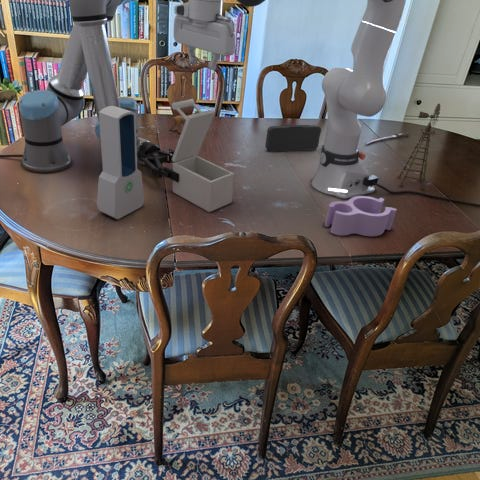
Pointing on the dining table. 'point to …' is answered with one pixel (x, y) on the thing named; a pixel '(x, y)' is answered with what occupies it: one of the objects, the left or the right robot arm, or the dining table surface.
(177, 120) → the lion figurine
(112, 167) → the electronic device
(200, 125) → the lid
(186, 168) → the chest
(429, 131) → the miniature windmill
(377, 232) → the clip
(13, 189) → the dining table surface
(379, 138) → the sword
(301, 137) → the handheld gaming console
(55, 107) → the left robot arm
